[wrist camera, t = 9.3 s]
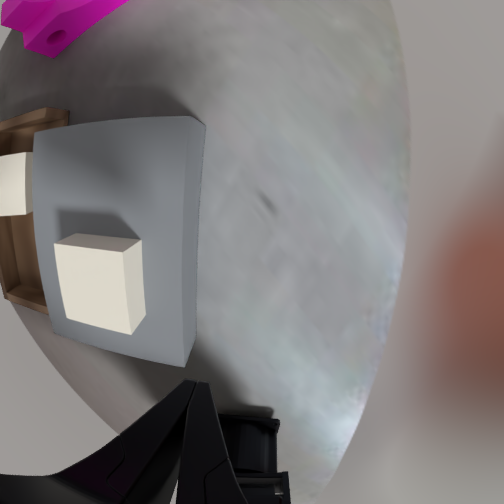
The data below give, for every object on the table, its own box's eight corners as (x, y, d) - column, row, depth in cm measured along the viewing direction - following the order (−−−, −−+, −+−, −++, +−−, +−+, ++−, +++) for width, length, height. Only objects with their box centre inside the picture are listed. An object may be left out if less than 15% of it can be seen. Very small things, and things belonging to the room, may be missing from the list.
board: (205, 126, 17) (190, 115, 13) (196, 336, 22) (184, 367, 18) (66, 134, 17) (34, 132, 13) (77, 311, 22) (54, 333, 18)
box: (69, 110, 16) (46, 107, 13) (75, 302, 21) (57, 317, 18) (12, 125, 16) (-9, 125, 13) (21, 287, 21) (4, 298, 19)
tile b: (141, 239, 15) (122, 252, 13) (145, 314, 17) (131, 334, 14) (76, 233, 15) (53, 243, 13) (84, 301, 17) (66, 318, 14)
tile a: (-16, 159, 13) (-2, 158, 15) (-14, 217, 14) (-2, 211, 17) (25, 152, 14) (37, 152, 17) (26, 214, 16) (37, 209, 18)
